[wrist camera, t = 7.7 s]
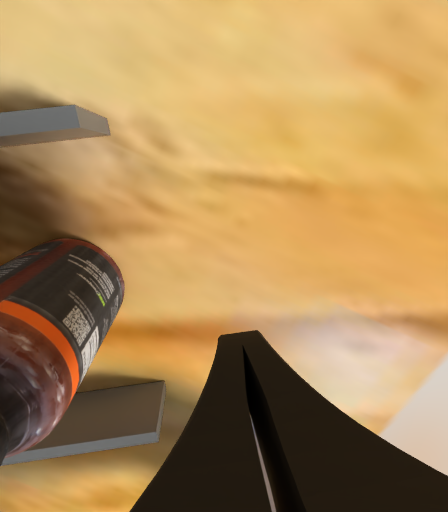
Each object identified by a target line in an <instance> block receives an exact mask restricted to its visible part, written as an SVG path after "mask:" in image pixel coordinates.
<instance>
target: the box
mask: <svg viewBox="0 0 448 512" xmlns="http://www.w3.org/2000/svg"><path fill="white" fill-rule="evenodd" d="M109 135H110V130H109V126H108V121H107V118H105V117H102V116H100V115H98V114H95V113H93V112H90V111H88V110H86V109H83V108H81V107H79V106H76V105H69V106H59V107H50V108H40V109H31V110H21V111H12V112H3V113H0V147H9V146H18V145H27V144H36V143H45V142H54V141H63V140H72V139H81V138H91V137H100V136H109ZM165 396H166V386H165V381H159V382H152V383H145V384H138V385H131V386H124V387H117V388H110V389H103V390H96V391H89V392H82V393H75V394H74V396H73V398H72V400H71V402H70V404H69V406H68V408H67V410H66V412H65V414H64V415H63V417H62V419H61V420H60V421H59V423H58V424H57V425H56V427H55V428H54V429H53V430H52V431H51V432H50V433H49V434H48V435H47V436H46V437H45V438H44V439H42V440H41V441H40V442H38V443H37V444H36V445H34V446H32V447H31V448H29V449H27V450H25V451H23V452H21V453H19V454H16V455H14V456H11V457H7V458H4V460H3V463H2V465H9V464H16V463H22V462H29V461H36V460H42V459H49V458H56V457H62V456H69V455H76V454H82V453H89V452H96V451H102V450H109V449H116V448H122V447H129V446H136V445H142V444H149V443H155V442H159V436H160V429H161V423H162V416H163V409H164V402H165ZM2 465H1V466H2Z"/></svg>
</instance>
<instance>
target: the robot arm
mask: <svg viewBox="0 0 448 512" xmlns="http://www.w3.org/2000/svg"><path fill="white" fill-rule="evenodd" d="M130 512H448V476H447V475H445V474H443V473H441V472H439V471H437V470H435V469H434V468H432V467H430V466H428V465H426V464H425V463H423V462H421V461H419V460H418V459H416V458H414V457H412V456H411V455H409V454H407V453H405V452H403V451H402V450H400V449H398V448H397V447H395V446H393V445H392V444H390V443H389V442H387V441H386V440H384V439H382V438H381V437H379V436H378V435H376V434H375V433H373V432H372V431H370V430H368V429H367V428H365V427H364V426H362V425H361V424H359V423H358V422H356V421H355V420H353V419H352V418H351V417H349V416H348V415H346V414H345V413H344V412H342V411H341V410H340V409H338V408H337V407H336V406H334V405H333V404H332V403H331V402H329V401H328V400H327V399H326V398H324V397H323V396H322V395H321V394H319V393H318V392H317V391H316V390H315V389H314V388H312V387H311V386H310V385H309V384H308V383H307V382H306V381H305V380H304V379H302V378H301V377H300V376H299V375H298V374H297V373H296V372H295V371H294V370H293V369H292V368H291V367H290V366H289V365H288V364H287V363H286V362H285V361H284V360H283V359H282V358H281V357H280V356H279V354H278V353H277V352H276V351H275V350H274V349H273V348H272V347H271V345H270V344H269V343H268V342H267V341H266V339H265V338H264V337H263V335H262V334H261V333H260V332H259V331H258V330H255V331H247V332H240V333H233V334H225V335H221V336H220V337H219V338H218V345H217V350H216V354H215V358H214V361H213V365H212V367H211V370H210V373H209V376H208V379H207V382H206V384H205V386H204V389H203V391H202V393H201V396H200V398H199V400H198V403H197V405H196V407H195V409H194V411H193V413H192V415H191V417H190V419H189V421H188V423H187V425H186V426H185V428H184V430H183V432H182V434H181V435H180V437H179V439H178V440H177V442H176V444H175V445H174V447H173V449H172V450H171V452H170V454H169V455H168V457H167V459H166V460H165V462H164V463H163V465H162V466H161V468H160V469H159V471H158V472H157V474H156V475H155V477H154V478H153V480H152V481H151V482H150V484H149V485H148V486H147V488H146V489H145V491H144V492H143V493H142V495H141V496H140V498H139V499H138V500H137V502H136V503H135V505H134V506H133V507H132V509H131V510H130Z"/></svg>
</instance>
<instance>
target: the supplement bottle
mask: <svg viewBox="0 0 448 512" xmlns="http://www.w3.org/2000/svg"><path fill="white" fill-rule="evenodd" d="M123 297H124V281H123V278H122V274H121V272H120V269H119V268H118V266H117V264H116V263H115V262H114V261H113V259H112V258H111V257H110V256H109V255H108V254H106V253H105V252H104V251H103V250H102V249H100V248H98V247H96V246H95V245H92V244H90V243H88V242H84V241H81V240H76V239H65V238H63V239H56V240H51V241H48V242H45V243H43V244H40V245H38V246H36V247H34V248H32V249H30V250H29V251H27V252H25V253H23V254H22V255H19V256H18V257H16V258H14V259H13V260H11V261H9V262H7V263H5V264H4V265H2V266H0V466H1V465H2V463H3V460H4V458H7V457H11V456H14V455H16V454H19V453H21V452H23V451H25V450H27V449H29V448H31V447H32V446H34V445H36V444H37V443H38V442H40V441H41V440H42V439H44V438H45V437H46V436H47V435H48V434H49V433H50V432H51V431H52V430H53V429H54V428H55V427H56V425H57V424H58V423H59V421H60V420H61V419H62V417H63V415H64V414H65V412H66V410H67V408H68V406H69V404H70V402H71V400H72V398H73V396H74V394H75V393H76V391H77V390H78V387H79V385H80V384H81V382H82V380H83V378H84V376H85V374H86V372H87V370H88V368H89V366H90V364H91V363H92V361H93V359H94V357H95V355H96V353H97V351H98V349H99V347H100V346H101V344H102V342H103V340H104V338H105V336H106V334H107V332H108V330H109V328H110V326H111V325H112V323H113V321H114V319H115V317H116V315H117V313H118V311H119V309H120V306H121V304H122V301H123Z"/></svg>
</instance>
